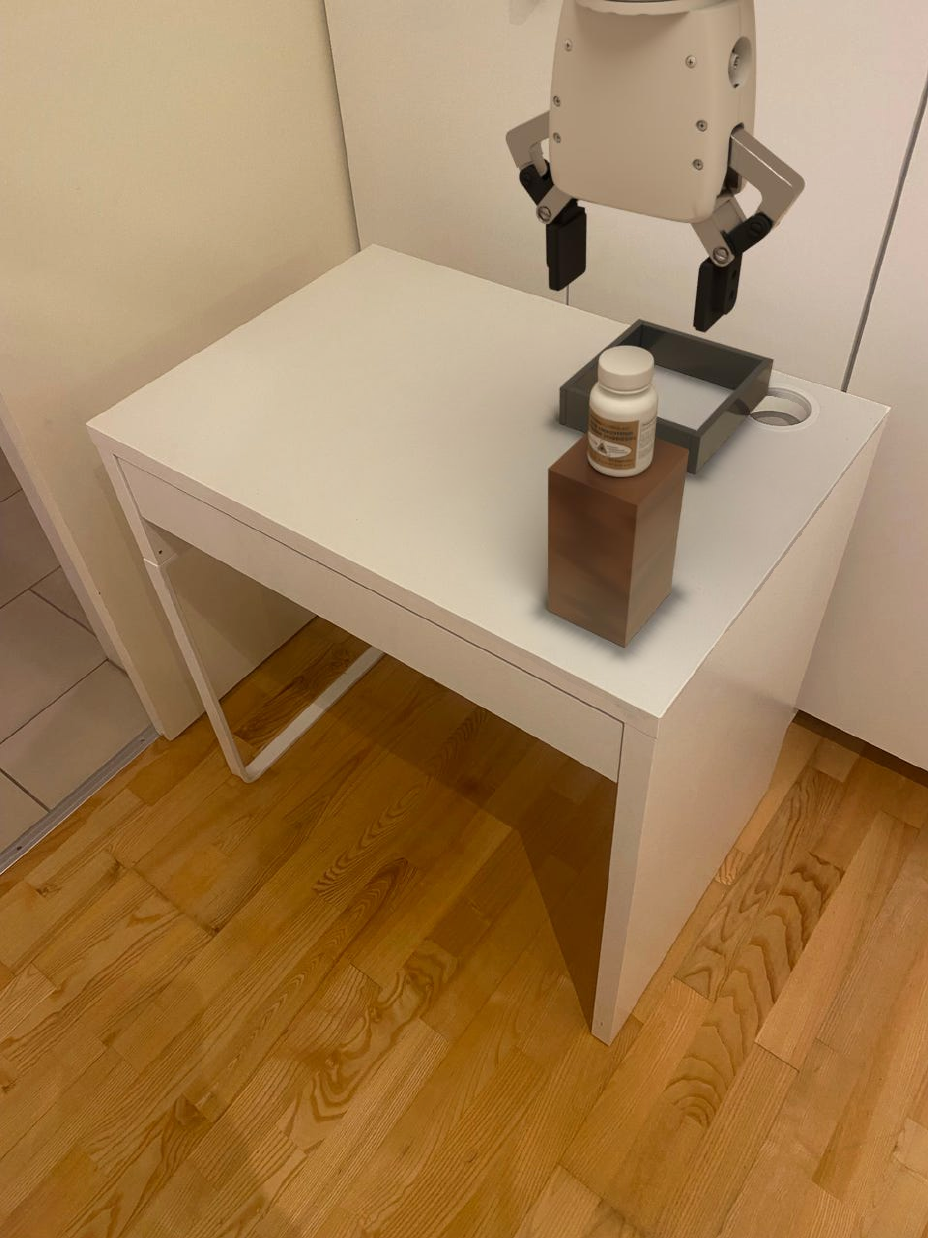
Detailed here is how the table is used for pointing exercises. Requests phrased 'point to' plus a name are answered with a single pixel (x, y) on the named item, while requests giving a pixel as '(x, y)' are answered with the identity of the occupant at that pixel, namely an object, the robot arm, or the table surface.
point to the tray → (690, 358)
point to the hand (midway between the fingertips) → (636, 300)
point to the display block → (613, 539)
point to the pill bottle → (623, 412)
